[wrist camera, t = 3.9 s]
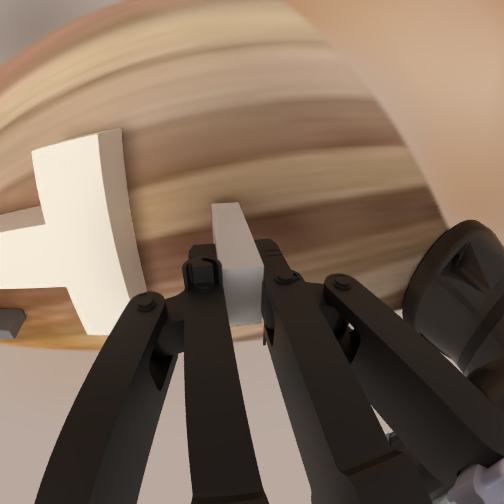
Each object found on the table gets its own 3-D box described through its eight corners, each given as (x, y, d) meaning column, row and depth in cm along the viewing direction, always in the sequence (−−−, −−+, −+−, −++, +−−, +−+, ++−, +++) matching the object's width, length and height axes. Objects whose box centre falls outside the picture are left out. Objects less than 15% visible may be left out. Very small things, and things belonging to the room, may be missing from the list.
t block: (121, 127, 13) (97, 133, 10) (148, 295, 19) (141, 334, 16) (-20, 169, 11) (-53, 186, 8) (21, 300, 17) (3, 329, 14)
